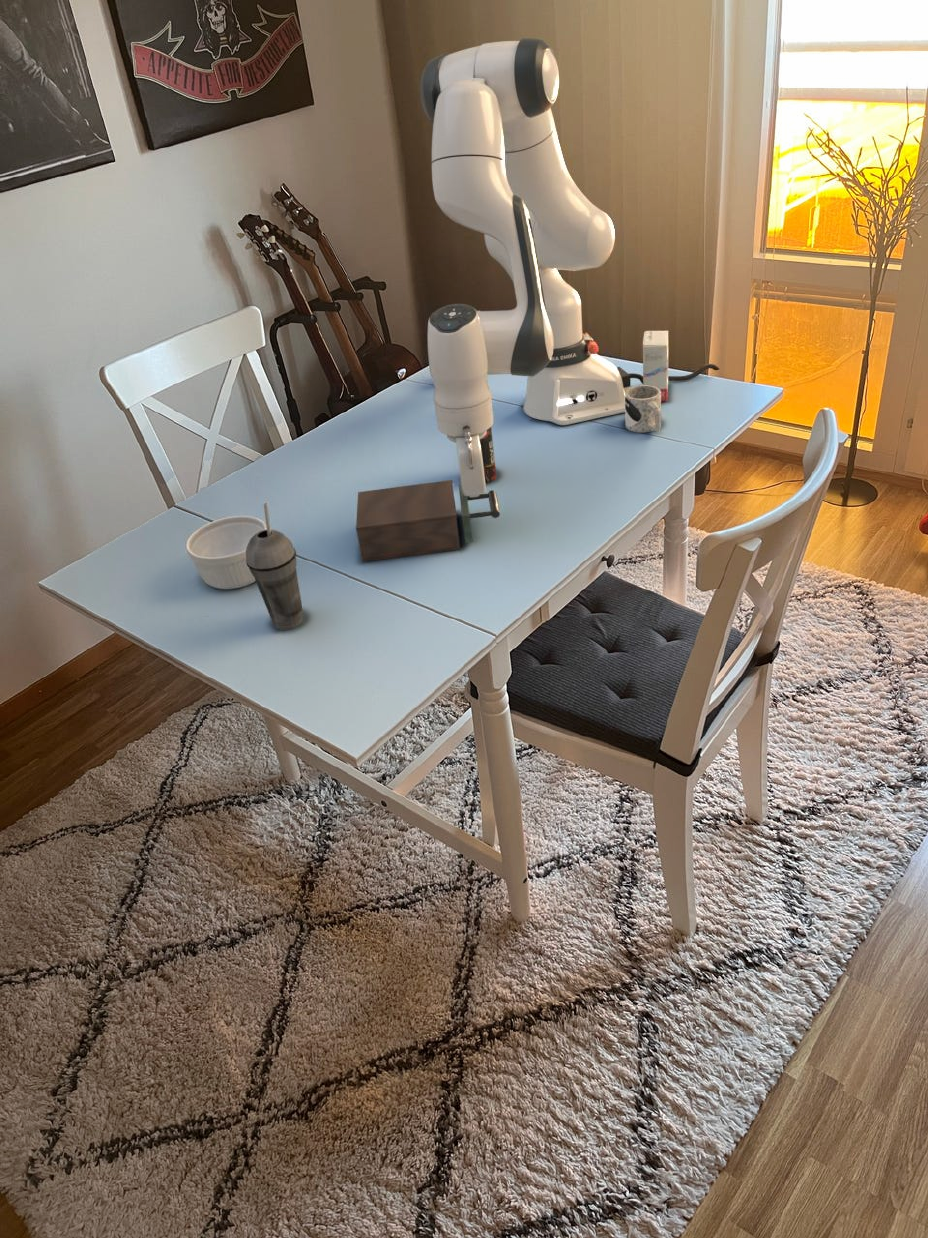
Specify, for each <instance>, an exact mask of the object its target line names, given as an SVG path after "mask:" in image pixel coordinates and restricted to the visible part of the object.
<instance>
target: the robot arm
mask: <svg viewBox="0 0 928 1238" xmlns="http://www.w3.org/2000/svg"><path fill="white" fill-rule="evenodd" d="M559 85H560V71H559V66H558V62H557V58H556V54H555V52H554V50H553V48H552V47H550V46H549V44H548V43H547V42H546V41H545V40H543V39H539V38H529V37H523V38H521V39H520V40H502V41H492V42H486V43H482V44H481V45H477V46H472V47H469V48H465V49H462V50H459V51H455V52H452V53H449V52H445V53H443V54H440V55H438V56H435V57H434V58H432V59H430V60H429V61H428V62H427V63H426V65H425V67H424V69H423V71H422V73H421V76H420V81H419V95H420V101H421V105H422V109H423V111H424V113H425V115H426V117H427V118H428V120H429V121H430V122H431V123H432V132H431V133H432V134H431V181H432V190H433V196H434V200H435V202H436V205H437V206H438V208H439V209H440V210H441V212H442V213H443V214H444V215H445V216H446V217H447V218H448V219H450V220H451V221H453V222H454V223H456V224H458V225H460V226H462V227H465V228H467V229H469V230H473V231H476V232H478V233H481V234H483V235H484V244H485V247H486V250H487V252H488V254H489V255H490V257H491V258H492V259H494V260H495V261H496V262H497V263H498V264H499V265H500V266H501V267H502V268H503V270H505V272H506V273H507V275H508V276H509V278H510V280H511V282H512V283H513V287H514V295H515V299H516V307H515V308H512V309H508V310H507V309H505V310H477V309H476V308H475V307H474V306H471V305H470V304H466V303H452V304H447V305H445V306H442V307H440V308H438V309H436V310H435V311H433V312H432V313H431V314H430V316H429V318H428V322H427V358H428V367H429V373H430V377H431V379H432V382H433V386H434V392H433V393H434V394H433V404H434V411H435V419H436V425H437V430H438V432H440V433H441V434H443V435H445V436H446V438H447V439H448V440H449V441H450V442H452V443H455V446H456V453H457V454H456V455H457V462H458V470H459V477H460V478H459V479H460V484H461V486H462V492H463V495H464V496H469V497H471V498H473V497H478V496H479V495H480V494H486V490H487V487H486V484H485V476H484V467H483V459H482V451H481V445H480V439H482V438H483V437H484V436H485V435H486V434H487V430H488V429H489V428H490V427H491V428H492V427H493V425H494V423H495V422H494V420H495V419H494V409H493V400H492V399H493V398H492V391H491V388H490V386H489V383H488V375H489V376H490V375H492V376H493V375H511V376H518V377H526V390H525V391H526V392H525V396H524V397H525V398H524V403H523V407H522V408H523V409H522V410H523V412H524V413H525V415H527V416H528V417H530V418H533V419H535V420H539V421H545V422H551V423H553V424H555V425H559V426H568V425H572V424H576V423H577V424H578V423H582V422H585V421H586V422H587V421H591V420H595V419H600V418H604V417H609V416H614V415H618V414H622V413H625V392H626V390H628V389H629V388H631V379H637V380H639V381H640V383H641V385H643V374H640V373H634V372H633V373H632V372H631V373H630V372H629V373H628V372H627V371H625V369H623V368H622V367H620V366H616V365H615V364H614V363H613V362H611V361H610V360H608V359H606V358H604V357H602V356H601V355H599V354H598V352H599V350H600V347H599V346H598V344H597V342H596V341H594V339H593V338H592V337H591V336H590V335H589V334H588V332H585V333H583V319H582V318H583V317H582V301H581V297H580V295H579V293H578V291H577V290H575V288H574V287H572V286H571V285H570V284H569V283H567V281H565V280H564V279H563V278H562V276H561V274H560V273H559V271H558V270H561V271H573V272H577V271H578V272H579V271H585V270H592V269H598V268H601V267H602V266H603V265H604V264H605V263H606V262H607V261H608V259H609V258H610V256H611V254H612V252H613V249H614V247H615V242H616V241H615V240H616V236H615V234H616V233H615V228H614V224H613V221H612V219H611V218H610V216H609V215H608V214H607V213H606V212H605V211H603V210H602V209H600V208H599V207H598V206H596V205H595V204H593V203H592V202H591V200H589V199H588V198H587V197H586V196H585V194H584V193H583V192H582V191H581V190H580V188H579V187H578V186H577V184H576V182H575V181H574V179H573V178H572V176H571V174H570V173H569V170H568V168H567V165H566V163H565V160H564V157H563V153H562V149H561V144H560V141H559V136H558V132H557V128H556V124H555V119H554V115H553V112H552V108H551V107H552V106H553V105H554V103H555V102H556V100H557V97H558V95H559V87H560V86H559ZM709 369H711V370H713V371H719V370H720V367H719V366H717V365H716V364H715V363H706V364H704V365H702V366H700V367H699V368H698V369H697V370H695V371H694V372H692V373H690V374H685V375H668V382H684V381H689V380H692V379H694V378H696V377H697V376H699V375H700V374H702V373H703V372H705V371H706V370H709Z"/></svg>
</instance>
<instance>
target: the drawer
mask: <svg viewBox="0 0 928 1238" xmlns="http://www.w3.org/2000/svg"><path fill="white" fill-rule="evenodd" d="M458 491H459V492H458V494H459V501H460V511H461V517H462V526H463V533H464V542H465V544H466V543H467V544H469V543H474V540H473V538H474V537H473V532H472V530H473V529H472V523H471V519H476V518H477V519H478V518H485V517H492V518H494V519H497V518H499V517H500V515H501V513H500V512H501V511H500V507H499V502H498V496H497V491H495V490H493V489H491V490H489V491H488V492H487V493H484V494H480V495H479V496H478V497H473V498H471V497H469V496H464V495H463V492H462V486H461V483H460V484H458ZM453 495H454V496H455V493H454V491H453ZM485 499H488V503H489V509H490V510H488V511H481V512H474V513H470V508H469V501H476V500H485ZM454 504H455V505H456V500H454ZM455 514H457V506H456V507H455ZM456 522H457V523H458V515H456ZM457 529H458V530H459V525H457ZM458 536H459V537H460V535H459V534H458Z"/></svg>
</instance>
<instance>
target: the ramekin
mask: <svg viewBox="0 0 928 1238" xmlns="http://www.w3.org/2000/svg"><path fill="white" fill-rule="evenodd" d="M262 530H267V526H266V522H265V521H264V520H262V519H260V518H258V517H256V516H252V515H251V516H250V515H233V516H227V517H223V518H220V519H216V520H213V521H211V522H208V523H206V524H204V525H202V526H201V527H199V528H198V529H196V530H195V531H194V532H193V533H191V534H190V536H189V537H188V538H187V541H186V544H185V549H186V552H187V555H188V557H189V558H190V559H191V560H192V563H193V565H194V567H195V569H196V570H197V573H198V574H199V576H200V578H201V579H202V581H203V582H204V583H205V584H207V586H210V587H212V588H215V589H219V590H235V589H240V588H243V587H247V586H249V585H251V584H254V583H256V580H255V578H254V576H253V575H252V573H251V571H250V569H249V567H248V566H247V563H246V548H247V545H248V543H249V541H250V539H251V538H252V537H253V536H254V535H255V534H256V533H258V532H260V531H262Z"/></svg>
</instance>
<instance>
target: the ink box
mask: <svg viewBox="0 0 928 1238" xmlns="http://www.w3.org/2000/svg"><path fill="white" fill-rule="evenodd" d="M642 376H643V384H642V385H650V386H655V387H657V388H659V389H660V391H661V403H662V402H667V401H668V391H669V381H668V376H669V330H645V331H643V338H642Z"/></svg>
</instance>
